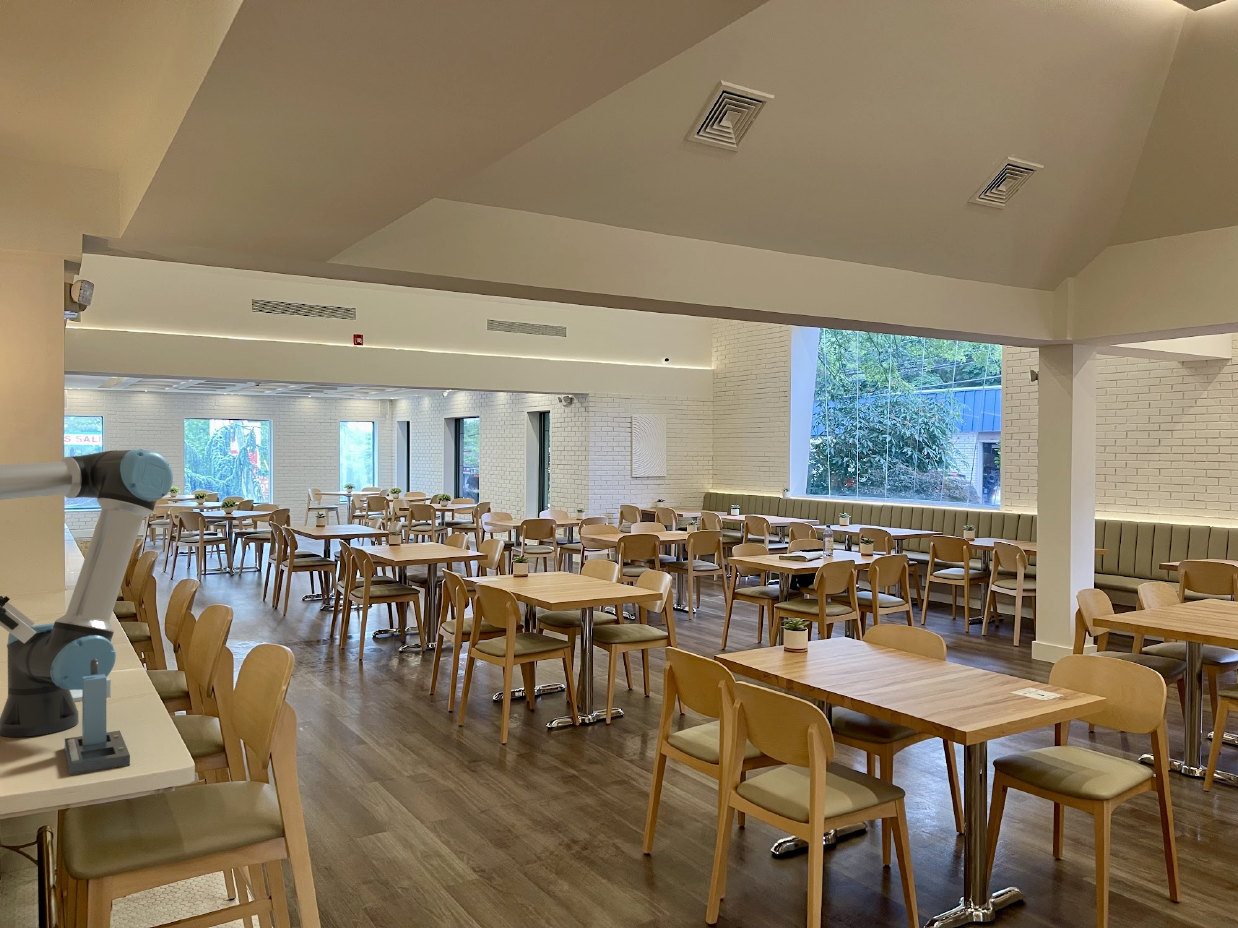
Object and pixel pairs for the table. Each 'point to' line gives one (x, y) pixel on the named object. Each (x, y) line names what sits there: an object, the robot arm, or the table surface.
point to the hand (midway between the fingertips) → (29, 632)
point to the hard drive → (76, 695)
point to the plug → (94, 705)
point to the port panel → (96, 754)
